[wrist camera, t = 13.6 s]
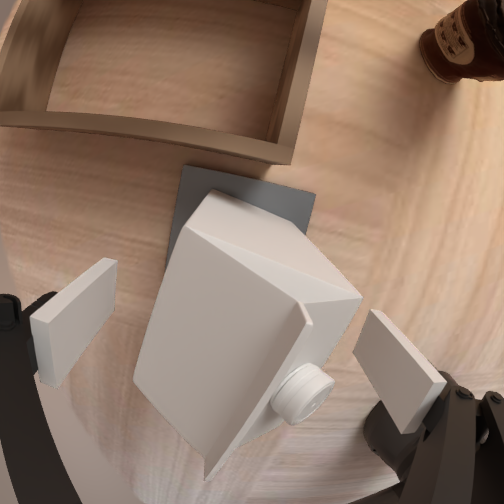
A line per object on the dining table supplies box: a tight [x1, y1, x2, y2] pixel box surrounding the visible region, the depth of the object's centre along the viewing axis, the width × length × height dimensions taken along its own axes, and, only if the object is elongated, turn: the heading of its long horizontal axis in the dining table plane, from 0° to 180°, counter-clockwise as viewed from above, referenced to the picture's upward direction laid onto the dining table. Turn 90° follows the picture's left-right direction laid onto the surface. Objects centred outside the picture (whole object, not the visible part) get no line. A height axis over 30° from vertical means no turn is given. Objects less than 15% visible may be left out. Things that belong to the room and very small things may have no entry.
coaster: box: [165, 165, 316, 272], centre depth 26 cm, size 11×11×1 cm
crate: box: [0, 0, 328, 165], centre depth 17 cm, size 16×23×8 cm
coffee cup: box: [420, 0, 504, 84], centre depth 16 cm, size 9×8×13 cm
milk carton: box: [133, 189, 363, 482], centre depth 16 cm, size 7×7×19 cm
